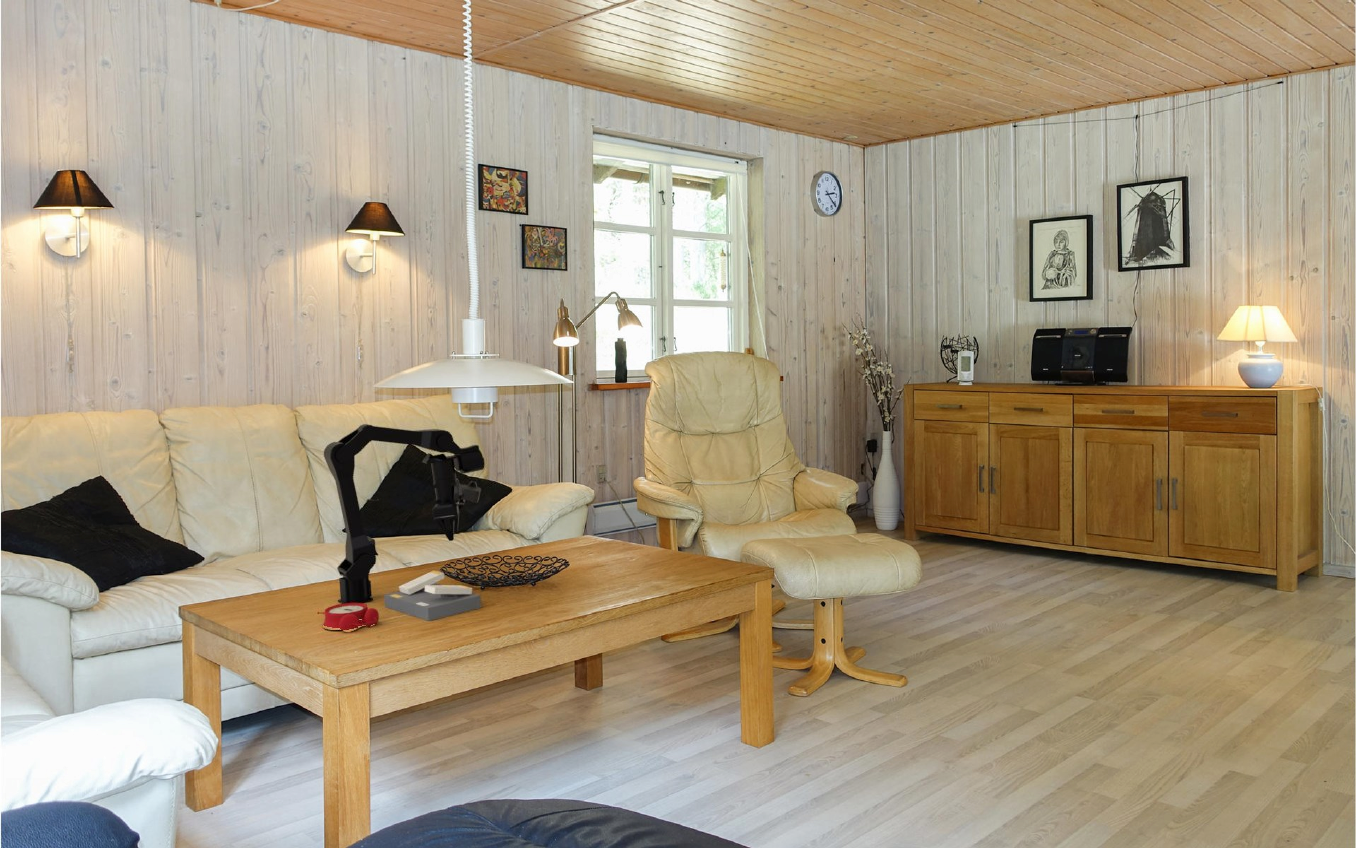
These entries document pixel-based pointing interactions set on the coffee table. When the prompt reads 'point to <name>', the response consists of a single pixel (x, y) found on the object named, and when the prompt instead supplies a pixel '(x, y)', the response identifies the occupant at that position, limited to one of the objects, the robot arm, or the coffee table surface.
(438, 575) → the bar
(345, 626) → the alarm clock
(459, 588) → the bar
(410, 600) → the switch box
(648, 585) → the coffee table surface
